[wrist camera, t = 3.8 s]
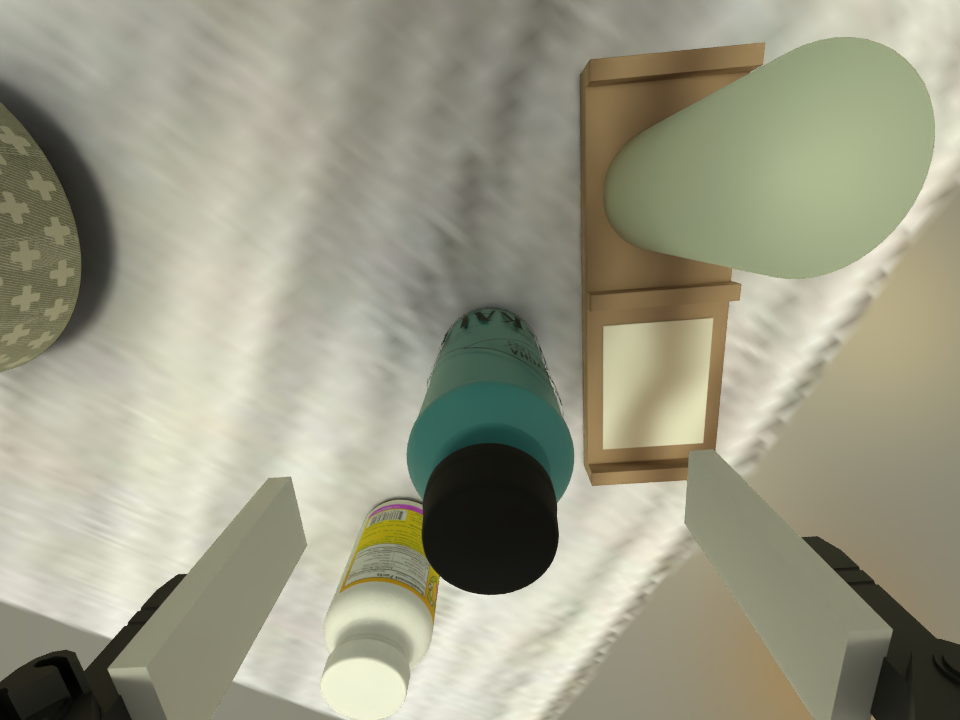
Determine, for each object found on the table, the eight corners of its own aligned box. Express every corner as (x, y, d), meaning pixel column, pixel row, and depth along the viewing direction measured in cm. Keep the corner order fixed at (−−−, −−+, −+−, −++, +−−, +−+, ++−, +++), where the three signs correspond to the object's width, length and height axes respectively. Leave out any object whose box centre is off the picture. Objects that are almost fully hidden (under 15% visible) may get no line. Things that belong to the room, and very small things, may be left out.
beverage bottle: (506, 404, 32) (533, 672, 13) (425, 361, 32) (332, 583, 13) (554, 329, 31) (665, 515, 12) (470, 281, 30) (442, 397, 11)
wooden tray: (584, 465, 34) (591, 485, 31) (580, 74, 26) (590, 59, 23) (704, 457, 34) (721, 477, 31) (737, 59, 26) (765, 42, 23)
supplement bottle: (418, 576, 37) (384, 751, 25) (349, 539, 36) (278, 703, 24) (461, 521, 36) (447, 680, 23) (389, 480, 35) (336, 625, 22)
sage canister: (603, 255, 28) (697, 286, 15) (603, 130, 25) (713, 49, 13) (717, 245, 27) (908, 270, 15) (727, 118, 25) (959, 25, 13)
